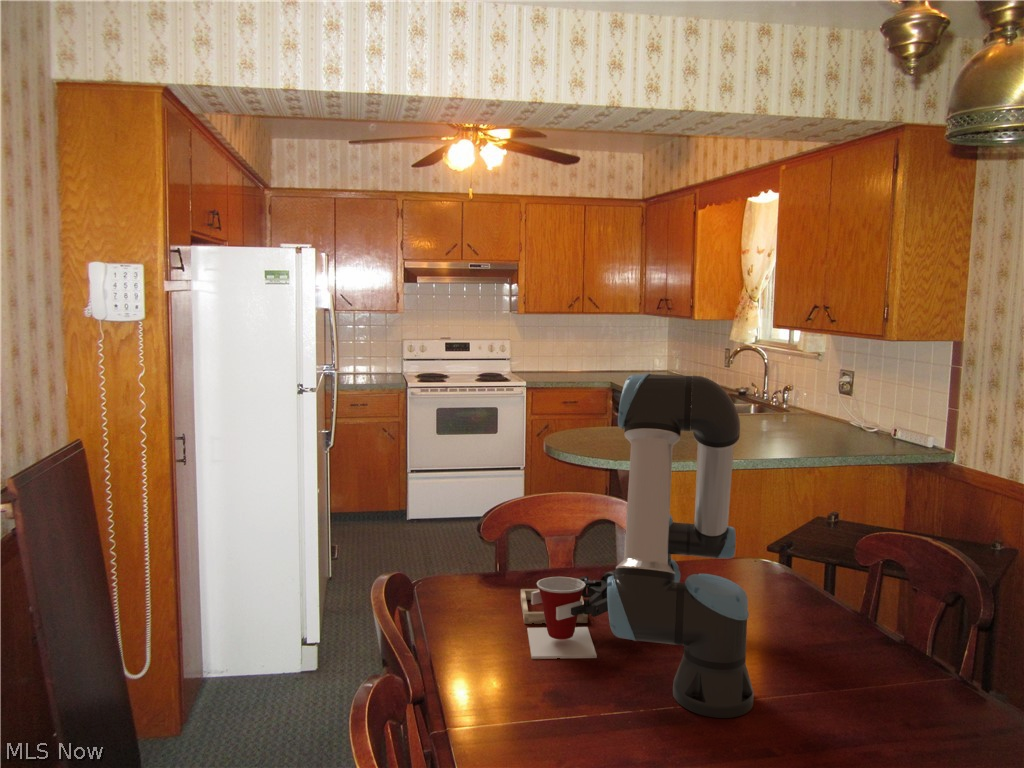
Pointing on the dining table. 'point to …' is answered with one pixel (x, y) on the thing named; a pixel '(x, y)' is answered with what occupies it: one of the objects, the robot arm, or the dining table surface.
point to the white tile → (560, 644)
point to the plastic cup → (559, 603)
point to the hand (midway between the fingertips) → (544, 606)
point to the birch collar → (539, 616)
